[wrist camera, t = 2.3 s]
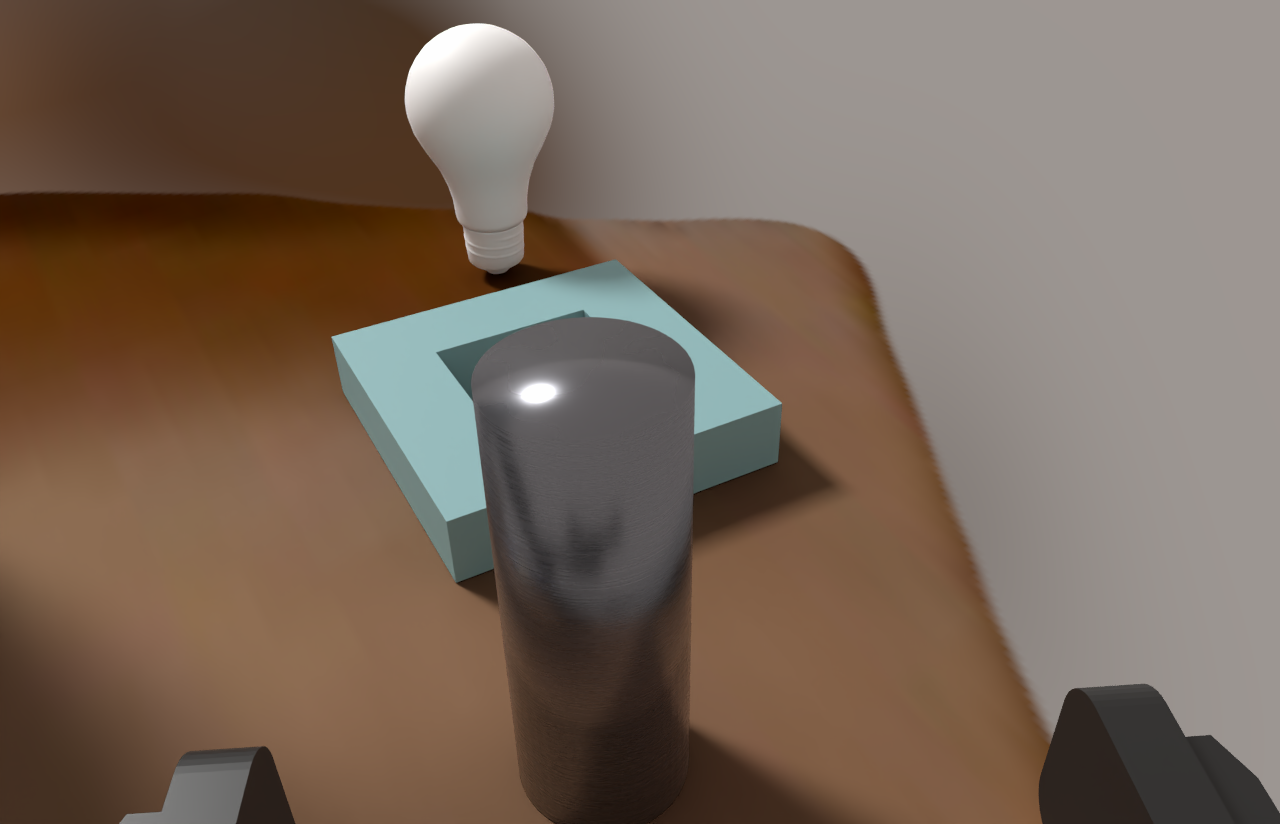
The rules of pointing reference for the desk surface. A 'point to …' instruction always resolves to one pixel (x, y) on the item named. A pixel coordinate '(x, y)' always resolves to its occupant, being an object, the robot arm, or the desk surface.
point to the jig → (444, 412)
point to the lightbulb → (482, 131)
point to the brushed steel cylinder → (592, 559)
